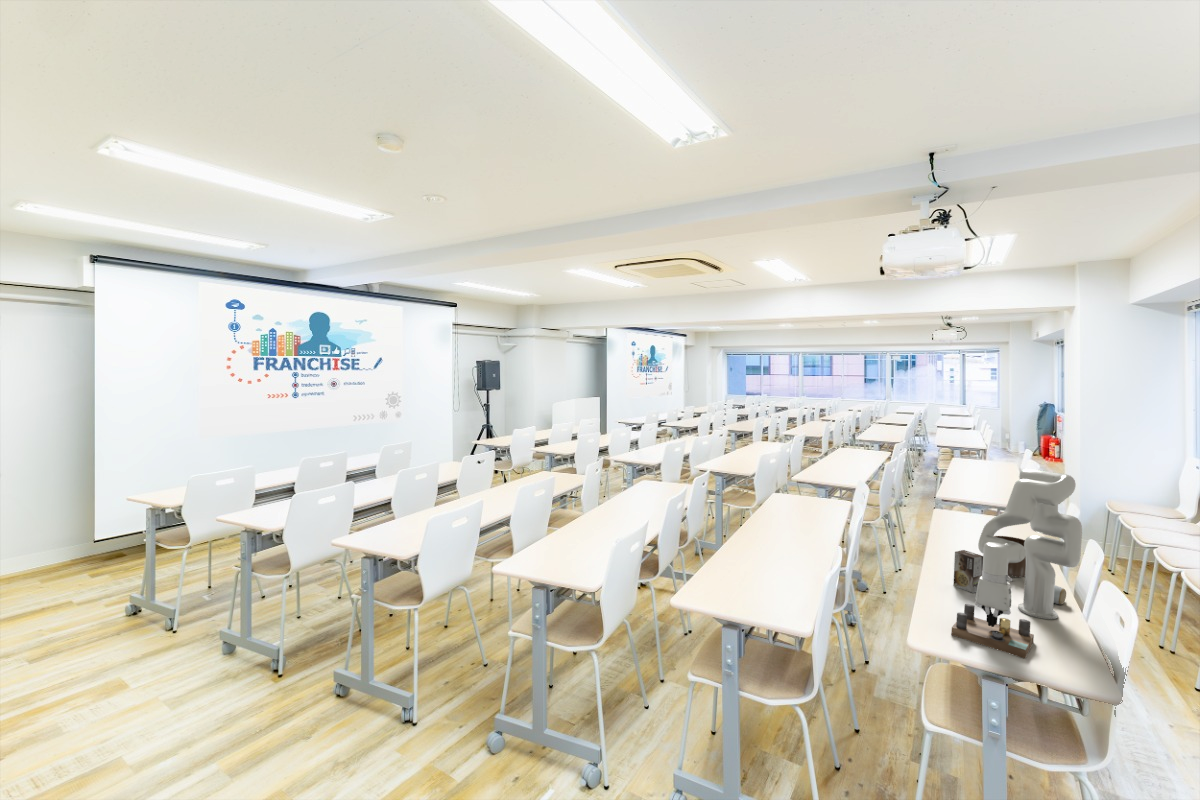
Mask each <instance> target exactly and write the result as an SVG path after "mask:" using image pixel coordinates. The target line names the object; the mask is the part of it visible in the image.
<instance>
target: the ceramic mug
mask: <svg viewBox="0 0 1200 800" xmlns="http://www.w3.org/2000/svg"><path fill="white" fill-rule="evenodd" d="M1066 599H1067V591H1066V589H1065V588H1064V587H1062V586H1058V585H1056V584H1055V589H1054V603H1053V604H1056V605H1063V604H1065V601H1066Z"/></svg>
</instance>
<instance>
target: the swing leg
mask: <svg viewBox="0 0 1200 800" xmlns="http://www.w3.org/2000/svg"><path fill="white" fill-rule="evenodd" d="M998 623H999V631H992V637H993V638H994V639H997V640H1003V636H1004V635H1010V628H1011V620H1010V619H1008V618H1005V617H1000V618H999V622H998Z"/></svg>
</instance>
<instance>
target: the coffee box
mask: <svg viewBox="0 0 1200 800" xmlns="http://www.w3.org/2000/svg"><path fill="white" fill-rule="evenodd" d="M953 563H954V565H953V567H954V568H953V587H956V588H958V589H961V590H964V591H965V592H966V591H967V592H969V593H972V594H974V593H975V594H976V593H977V587H978V582H979V579H980V577H981V576H982V568H983V555H981V554H979V553H975V552H972V551H968V550H965V549H962V550H961V549H960V550H957V551H954V562H953Z"/></svg>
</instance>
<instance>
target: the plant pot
mask: <svg viewBox="0 0 1200 800" xmlns="http://www.w3.org/2000/svg"><path fill="white" fill-rule="evenodd" d="M993 537H997V538H1001V539H1005V540H1009V541H1013V542H1016V543H1019V544H1021V545H1022V546H1023V547H1024V542H1025V539H1022V538H1019V537H1014V536H1008V535H994V536H993ZM1025 570H1026V556H1025V558H1024V559H1023V560H1022V561H1020V562H1018V563H1008V576H1009V577H1013V578H1023V577H1024V578H1025Z"/></svg>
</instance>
